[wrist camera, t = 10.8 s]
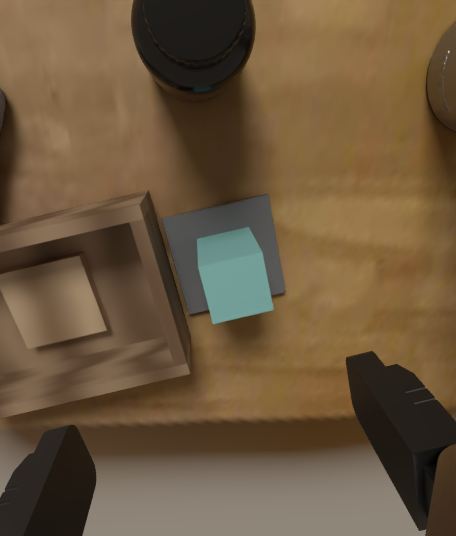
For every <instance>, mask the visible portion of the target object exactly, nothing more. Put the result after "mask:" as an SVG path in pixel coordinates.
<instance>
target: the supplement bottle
mask: <svg viewBox="0 0 456 536" xmlns="http://www.w3.org/2000/svg"><path fill="white" fill-rule="evenodd" d="M131 27H132V34H133V39H134V42H135V46H136V49H137V51H138V54H139V56H140V58H141V60H142V62H143V63H144V65H145V66H146V68H147V69H148V71H149V72H150V74H151V75H152V77H153V78H154V79H155V81H156V82H157V83H158V85H159V86H160V87H161V88H162V89H163V90H164V91H166V92H167V93H168V94H170V95H171V96H173V97H175V98H177V99H179V100H182V101H186V102H202V101H206V100H209V99H212V98H214V97H216V96H217V95H219V94H220V93H221V92H223V91H224V90H225V89H226V88H227V87H228V86H229V85H230V84H231V83H232V82H233V80H234V79H235V78H236V77H237V76H238V75H239V74H240V73H241V71H242V70H243V68H244V67H245V65H246V63H247V61H248V59H249V57H250V54H251V51H252V48H253V44H254V40H255V31H256V21H255V13H254V8H253V4H252V0H133V5H132V12H131Z"/></svg>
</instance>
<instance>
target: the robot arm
mask: <svg viewBox="0 0 456 536" xmlns="http://www.w3.org/2000/svg"><path fill="white" fill-rule="evenodd" d="M427 91H428V99H429V102H430V105H431V107H432V110H433V112H434V113H435V115H436V116H437V118H438V120H440V121H441V122H442V123H443V124H444V125H445V126H446V127H447V128H449V129H451V130H453V131H455V132H456V22H455V23H454V24H453V25H452V26H451V27H450V28H449V29H448V30H447V31H446V33H445V34H444V35H443V37H442V38H441V40H440V41H439V43H438V45H437V46H436V49H435V51H434V53H433V56H432V58H431V61H430V65H429V69H428V76H427ZM346 366H347V373H348V379H349V386H350V393H351V399H352V404H353V408H354V411H355V414H356V416H357V419H358V421H359V423H360V425H361V426H362V428H363V430H364V432H365V434H366V435H367V437H368V439H369V441H370V443H371V445H372V446H373V448H374V450H375V452H376V454H377V455H378V457H379V459H380V461H381V463H382V464H383V466H384V468H385V470H386V471H387V473H388V475H389V477H390V479H391V481H392V483H393V484H394V486H395V488H396V490H397V492H398V493H399V495H400V497H401V499H402V501H403V502H404V504H405V506H406V508H407V510H408V512H409V513H410V515H411V517H412V519H413V520H414V522H415V524H416V526H417V528H418V530H419V531H421V530H425V529H426V534H425V536H456V421H455V420H454V419H453V418H452V416H451V415H450V414H449V413H448V412H447V411H446V410H445V408H444V407H443V406H442V405H441V404H440V403H439V402H438V401H437V400H435V398H434V396H433V395H432V394H431V393H430V391H429V390H428V389H426V388H425V386H424V385H423V383H422V382H421V381H420V380H419V379H418V378H417V377H416V375H415V374H414V373H412V372H410V371H409V370H407V369H405V368H403V367H401V366H399V365H398V364H395V365H391V366H386V367H385V366H384V364H383V363H382V362H381V360H380V359H379V358H378V357H377V355H376V354H375V353H374V352H373V351H370V352H366V353H362V354H358V355H354V356H350V357H347V358H346ZM95 486H96V469H95V465H94V462H93V460H92V458H91V456H90V454H89V452H88V450H87V447H86V445H85V443H84V441H83V439H82V437H81V435H80V433H79V431H78V429H77V427H76V426H75V425H68V426H64V427H60V428H56V429H52V430H48V431H46V432H45V433H44V434H43V435H42V438H41V439H40V442H39V444H38V446H37V448H36V450H35V452H34V453H32V454H29V455H28V456H27V457H26V458H25V459H24V460H23V462H22V463H21V464H20V465H19V466H18V467H17V468H16V469H15V471H14V472H13V474H12V476H11V478H10V480H9V482H8V484H7V486H6V488H5V492H3V493H2V495H1V497H0V536H82V535H83V531H84V527H85V523H86V520H87V516H88V512H89V509H90V505H91V501H92V497H93V493H94V490H95Z"/></svg>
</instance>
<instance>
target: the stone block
mask: <svg viewBox="0 0 456 536" xmlns="http://www.w3.org/2000/svg"><path fill="white" fill-rule="evenodd" d="M5 107H6V101H5V96H4V95H3V93H2V91H1V89H0V134H1V128H2V123H3V118H4V111H5Z"/></svg>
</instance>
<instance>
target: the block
mask: <svg viewBox="0 0 456 536" xmlns="http://www.w3.org/2000/svg"><path fill="white" fill-rule="evenodd" d="M197 252H198V269H199V273H200V276H201V280H202V284H203V288H204V292H205V296H206V299H207V303H208V307H209V311H210V315H211V319H212V322H213V324H216V323H220V322H225V321H229V320H233V319H237V318H242V317H246V316H250V315H254V314H259V313H263V312H267V311H271V310H274V309H273V304H272V299H271V294H270V288H269V283H268V278H267V273H266V268H265V263H264V258H263V253H262V251H261V249H260V247H259V245H258V243H257V241H256V239H255V238H254V236H253V234H252V232H251V230H250V228H249V227H246V228H242V229H238V230H233V231H229V232H225V233H220V234H216V235H212V236H208V237H203V238H199V239H197Z"/></svg>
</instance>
